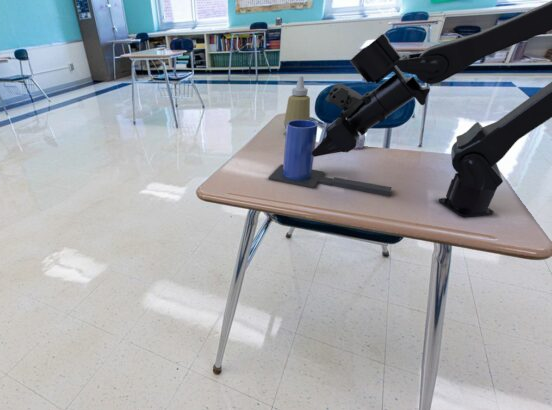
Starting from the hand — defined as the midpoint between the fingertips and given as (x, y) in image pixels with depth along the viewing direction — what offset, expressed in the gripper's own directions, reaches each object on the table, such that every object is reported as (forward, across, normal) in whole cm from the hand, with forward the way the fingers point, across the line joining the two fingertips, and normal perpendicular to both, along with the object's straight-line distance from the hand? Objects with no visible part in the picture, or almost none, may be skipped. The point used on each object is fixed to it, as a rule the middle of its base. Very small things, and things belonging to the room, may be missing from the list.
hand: (318, 148), depth 74 cm
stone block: (+5, -30, +6) cm, 31 cm away
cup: (+8, 0, +2) cm, 8 cm away
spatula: (+3, 0, +8) cm, 9 cm away
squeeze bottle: (+16, -32, -5) cm, 36 cm away
